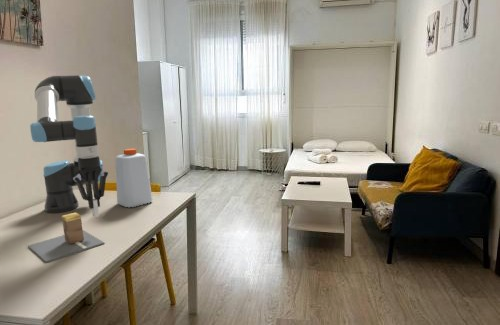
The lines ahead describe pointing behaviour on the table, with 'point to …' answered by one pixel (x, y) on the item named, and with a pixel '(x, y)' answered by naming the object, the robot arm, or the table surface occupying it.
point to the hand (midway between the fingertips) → (95, 215)
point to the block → (72, 228)
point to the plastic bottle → (132, 179)
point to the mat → (63, 247)
